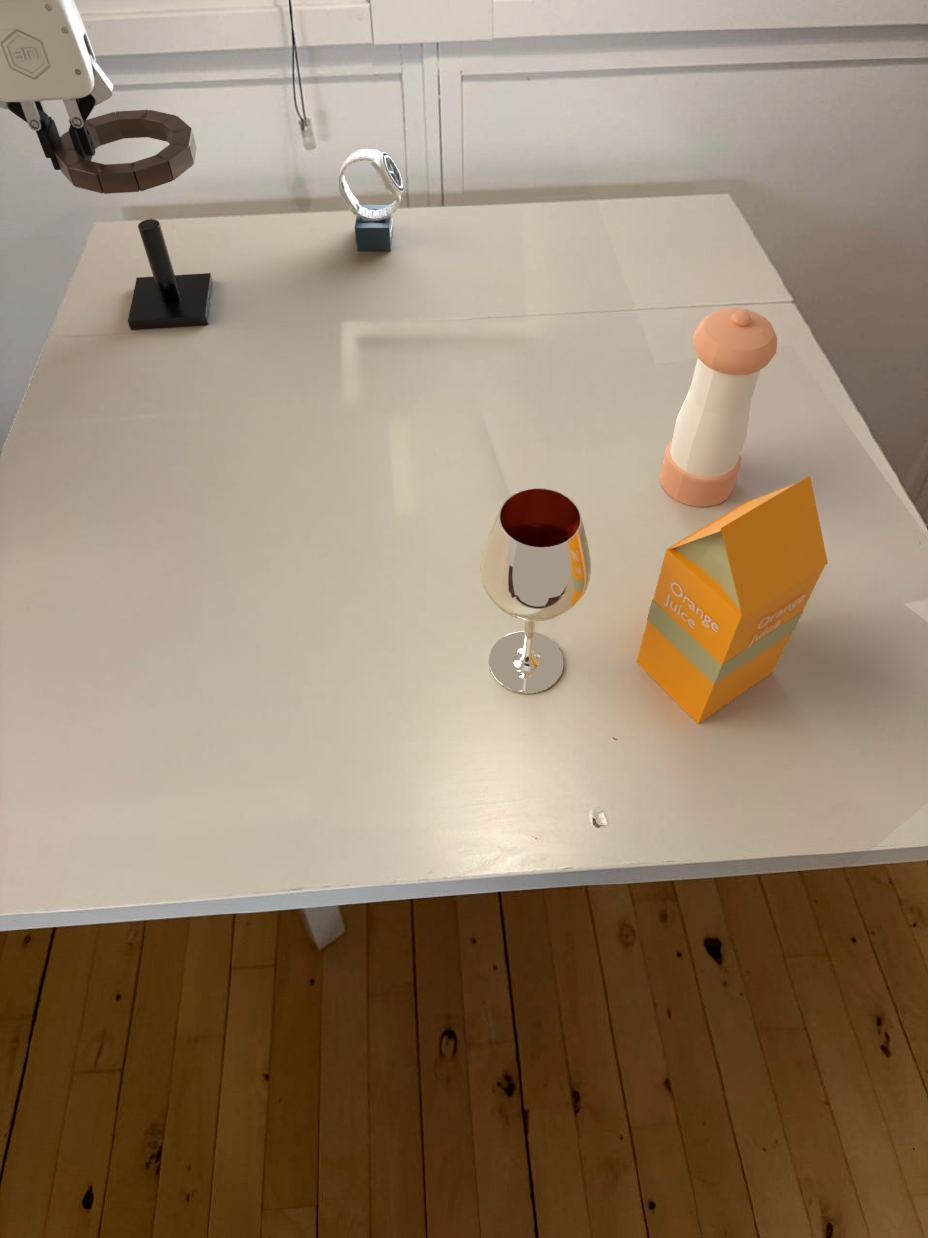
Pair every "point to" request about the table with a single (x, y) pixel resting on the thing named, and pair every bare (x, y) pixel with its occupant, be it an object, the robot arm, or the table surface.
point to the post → (167, 289)
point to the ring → (137, 173)
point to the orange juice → (733, 599)
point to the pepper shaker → (717, 407)
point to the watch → (373, 219)
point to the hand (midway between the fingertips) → (73, 161)
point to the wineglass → (534, 582)
